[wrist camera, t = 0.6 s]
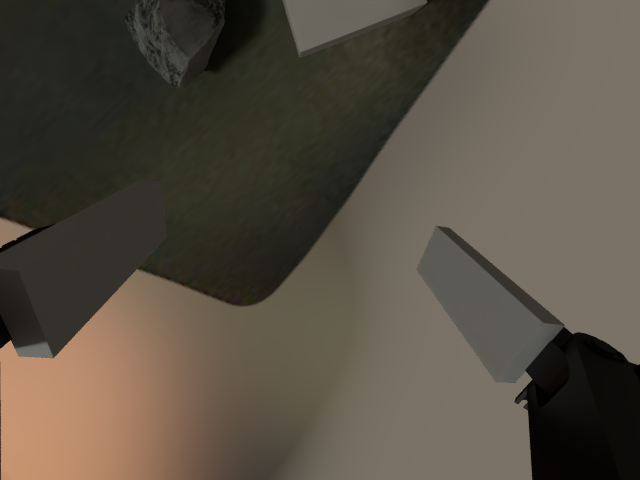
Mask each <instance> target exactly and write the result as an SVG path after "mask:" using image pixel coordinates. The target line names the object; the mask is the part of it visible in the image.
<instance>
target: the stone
mask: <svg viewBox="0 0 640 480" xmlns="http://www.w3.org/2000/svg"><path fill="white" fill-rule="evenodd" d="M224 15H225V0H134V1H133V6H132V8H131V9H130V10H129V14H128V15H127V16H126V17H125V18H124V22H125V24H126V26H127V28H128V30H129V31H130V33H131V35H132V37H133V39H134V42H135V44H136V46H137V47H138V49H139V51H140V52H141V53H142V55H143V56H144V57H145V58H146V60H147V61H148V63H149V64H150V66H151V67H152V68H153V69H154V70H155V71H156V72H157V73H159V74H160V75H161V76H162V77H163V78H164V79H165V80H166V81H167V82H169V83H170V84H171V85H172V86H173V87H174V88H178V87H181V88H185V87H186V86H188V85H189V84H190V82H191V81H192V80H193V79H194V78H195V77H197V75H199V74H201V73H202V72H203V70H204V69H205V67H206V66H207V64H208V60H209V57H210V55H211V52H212V50H213V48H214V46H215V44H216V41H217V38H218V36H219V34H220V32H221V30H222V28H223V26H224V23H225V20H224Z"/></svg>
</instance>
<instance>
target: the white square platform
mask: <svg viewBox="0 0 640 480" xmlns="http://www.w3.org/2000/svg"><path fill="white" fill-rule="evenodd" d="M426 3H427V0H283V4H284V7H285V10H286V14H287V17H288V20H289V24H290V27H291V30H292V34H293V37H294V40H295V44H296V47H297V50H298V54H299V57H300V58H302V57H304V56H307V55H310V54H312V53H315V52H317V51H320V50H322V49H325V48H328V47H330V46H333V45H335V44H338V43H340V42H343V41H346V40H348V39H351V38H353V37H356V36H358V35H361V34H364V33H366V32H369V31H371V30H374V29H376V28H379V27H382V26H384V25H387V24H389V23H392V22H394V21H397V20H400V19H402V18H405V17H407V16H410V15H412V14H414V13H415V12H416V11H417V10H419V9H420V8H421V7H423V6H424V5H425V4H426Z"/></svg>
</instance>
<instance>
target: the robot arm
mask: <svg viewBox="0 0 640 480" xmlns="http://www.w3.org/2000/svg"><path fill="white" fill-rule="evenodd" d="M165 238H166V228H165V215H164V203H163V191H162V182H159V181H153V180H147V179H141V180H139V181H137V182H136V183H134V184H132V185H130V186H128V187H126V188H124V189H122V190H120V191H118V192H116V193H114V194H112V195H111V196H109V197H107V198H105V199H103V200H101V201H99V202H97V203H95V204H93V205H91V206H89V207H87V208H86V209H84V210H82V211H80V212H78V213H76V214H74V215H72V216H70V217H68V218H66V219H64V220H63V221H61V222H59V223H57V224H53V225H49V226H46V227H42V228H39V229H35V230H33V231H31V232H29V233H27V234H25V235H23V236H21V237H19V238H17V240H13V241H11V242H9V243H7V244H5V245H3V246H2V248H0V348H2V347H3V346H4V345H5V344H6V343H8V342H9V341H10V340H11V341H12V344H13V345H14V348H15V349H16V351H17V354H18V356H24V357H41V358H54V357H55V356H56V355H57V354H58V353H59V352H60V351H61V350H62V349H63V347H64V346H65V345H66V344H67V343H68V342H69V341H70V340H71V339H72V338H73V337H74V336H75V334H76V333H77V332H78V331H79V330H80V329H81V328H82V327H83V326H84V325H85V324H86V323H87V322H88V321H89V320H90V318H92V316H93V315H94V314H95V313H96V312H97V311H98V310H99V309H100V308H101V307H102V306H103V305H104V304H105V303H106V302H107V300H108V299H109V298H110V297H111V296H112V295H113V294H114V293H115V292H116V291H117V290H118V288H119V287H120V286H121V285H122V284H123V283H124V282H125V281H126V280H127V279H128V278H129V277H130V276H131V275H132V274H133V273H134V272H135V271H136V269H137V268H138V267H139V266H140V265H141V264H142V263H143V262H144V261H145V260H146V259H147V258H148V257H149V256H150V254H151V253H152V252H153V251H154V250H155V249H156V248H157V247H158V246H159V245H160V244H161V243H162V242H163V241H164V240H165ZM417 271H418V272H419V274H420V275H421V277H422V278H423V279H424V281H425V282H426V284H427V285H428V286H429V288H430V289H431V291H432V292H433V294H434V295H435V296H436V298H437V299H438V301H439V302H440V304H441V305H442V306H443V308H444V309H445V311H446V312H447V313H448V315H449V316H450V318H451V319H452V321H453V322H454V323H455V325H456V326H457V327H458V329H459V330H460V332H461V333H462V335H463V336H464V338H465V339H466V340H467V342H468V343H469V344H470V346H471V348H472V349H473V350H474V352H475V353H476V355H477V356H478V357H479V359H480V360H481V362H482V363H483V365H484V366H485V367H486V369H487V370H488V372H489V373H490V374H491V376H492V377H493V379H494V380H495V381H496V382H507V383H515V382H516V381H517V380H518V379H519V378H520V377H521V375H522V374H523V373H524V372H525V371H526V372H527V373H528V374H529V375H530V377H531V378H532V379H533V380H532V381H531V382H530V383H529V384H528V385H527V386H526V387H525V388H524V389H523V391H522V392H521V393H520V394H519V395H518V396H517V397H516V399H515V403H517V404H519V403H520V402H521V401H522V400H527V401H528V403H527V404H526V405H525V406H524V408H525V409H527V410H528V416H529V433H530V450H531V466H532V480H640V365H636V364H633V363H630V362H628V360H627V359H626V358H625V357H624V355H623V354H622V353H620V352H618V351H617V350H616V349H615V348H613V347H611V346H610V345H609V344H607V343H606V342H604V341H602V340H599V339H598V338H596V337H593V336H591V335H588V334H585V333H580V332H578V333H574V334H572V333H571V332H569V331H568V330H567V329H566V328H565V327H564V326H565V325H564V324H563V323H561V322H560V321H559V320H558V319H557V318H556V317H555V316H553V315H552V314H551V313H550V312H549V311H547V310H546V309H545V308H544V307H543V306H541V305H540V304H539V303H538V302H537V301H536V300H534V299H533V298H532V297H531V296H530V295H528V294H527V293H526V292H525V291H524V290H522V289H521V288H520V287H519V286H518V285H517V284H515V283H514V282H513V281H512V280H511V279H509V278H508V277H507V276H506V275H505V274H503V273H502V272H501V271H500V270H499V269H497V268H496V267H495V266H494V265H493V264H492V263H490V262H489V261H488V260H487V259H486V258H484V257H483V256H482V255H481V254H480V253H479V252H477V251H476V250H475V249H474V248H473V247H471V246H470V245H469V244H468V243H467V242H465V241H464V240H463V239H462V238H461V237H460V236H458V235H457V234H456V233H455V232H453V231H452V230H451V229H450V228H446V227H440V226H436V227H435V230H434V232H433V234H432V236H431V238H430V241H429V243H428V245H427V248H426V250H425V252H424V254H423V256H422V258H421V261H420V263H419V265H418V267H417ZM0 407H1V403H0ZM0 410H1V409H0ZM0 415H1V413H0ZM0 427H1V416H0ZM0 431H1V429H0ZM0 435H1V432H0ZM0 437H1V436H0ZM0 480H1V438H0Z"/></svg>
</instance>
